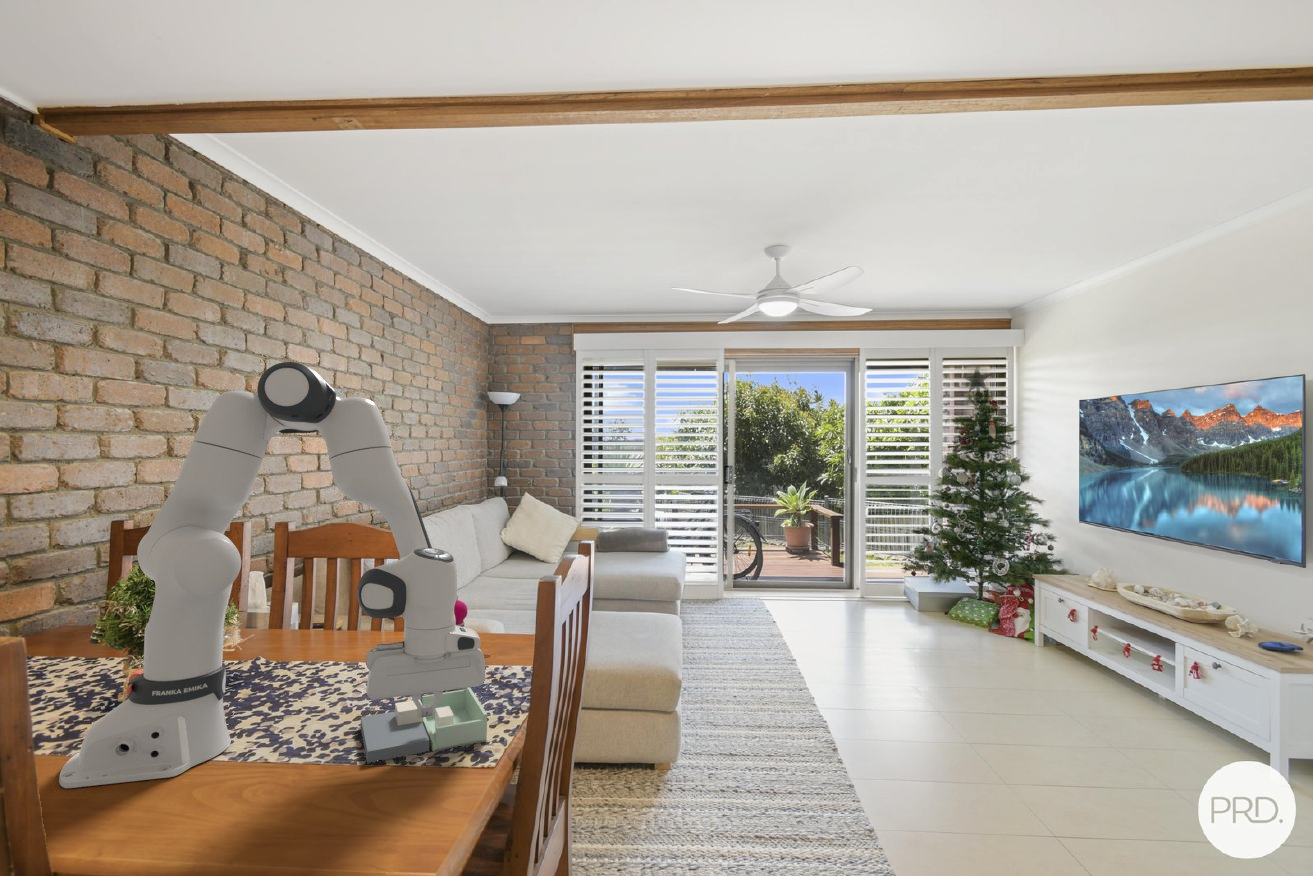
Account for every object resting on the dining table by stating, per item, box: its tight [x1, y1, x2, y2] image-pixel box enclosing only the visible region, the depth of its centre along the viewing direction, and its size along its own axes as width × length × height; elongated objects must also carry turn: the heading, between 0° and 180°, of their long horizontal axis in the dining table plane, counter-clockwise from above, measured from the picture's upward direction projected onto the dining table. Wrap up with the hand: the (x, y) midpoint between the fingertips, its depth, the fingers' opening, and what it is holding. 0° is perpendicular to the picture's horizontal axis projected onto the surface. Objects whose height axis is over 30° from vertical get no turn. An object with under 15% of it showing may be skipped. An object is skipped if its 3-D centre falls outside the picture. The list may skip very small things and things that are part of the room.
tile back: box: [394, 699, 423, 726], centre depth 122 cm, size 4×4×2 cm
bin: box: [421, 687, 488, 753], centre depth 123 cm, size 10×16×5 cm, turn 29°
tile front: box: [435, 706, 454, 735], centre depth 119 cm, size 4×4×2 cm
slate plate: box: [360, 711, 430, 764], centre depth 118 cm, size 10×15×2 cm, turn 29°
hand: (426, 715), depth 117 cm, fingers closed
